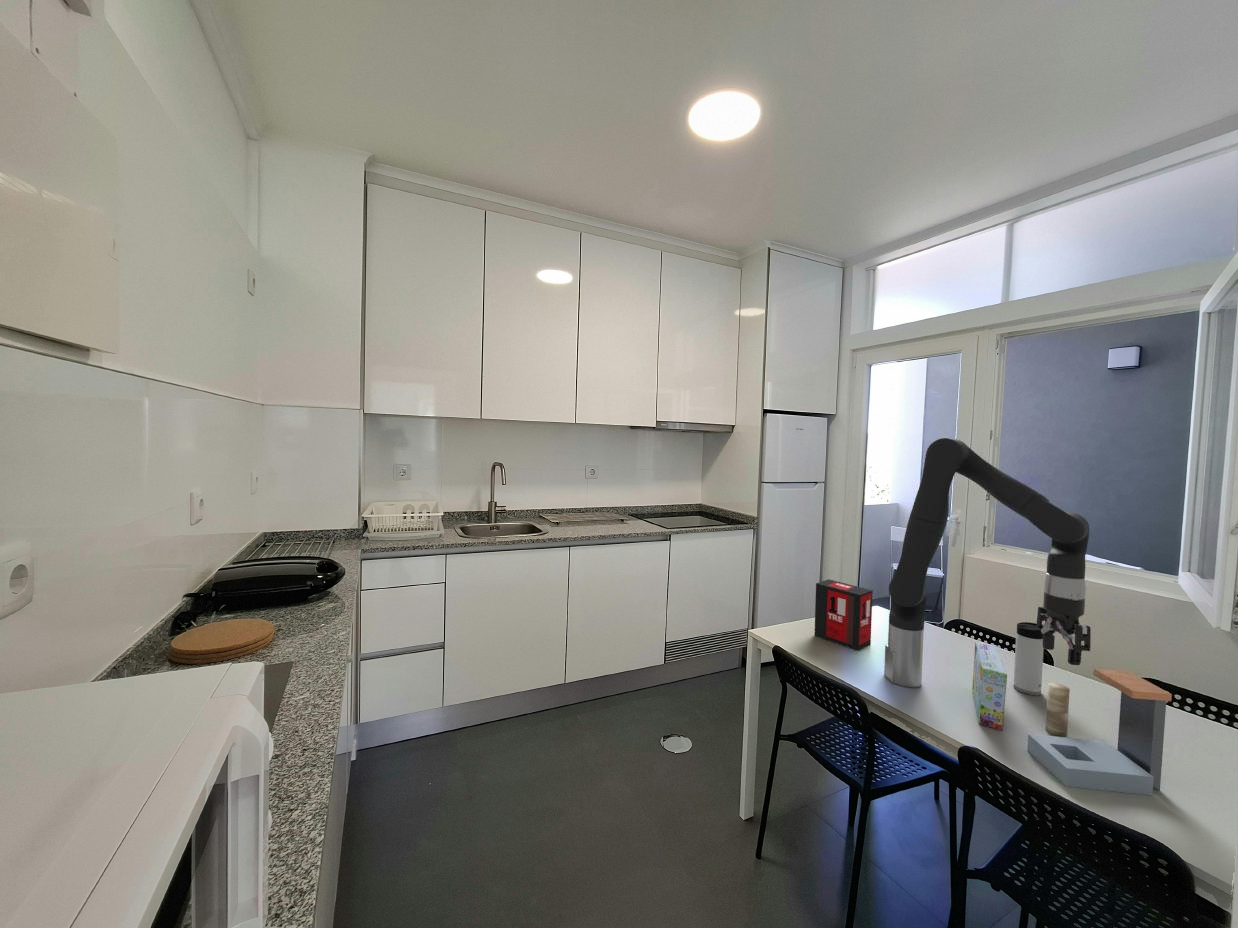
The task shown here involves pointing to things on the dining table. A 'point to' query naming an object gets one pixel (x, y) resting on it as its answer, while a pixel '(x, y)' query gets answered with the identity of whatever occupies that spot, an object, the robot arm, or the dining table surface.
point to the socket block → (1089, 764)
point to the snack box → (989, 685)
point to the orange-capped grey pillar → (1139, 719)
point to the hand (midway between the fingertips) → (1060, 656)
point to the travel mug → (1028, 659)
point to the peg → (1057, 709)
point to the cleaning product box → (843, 614)
